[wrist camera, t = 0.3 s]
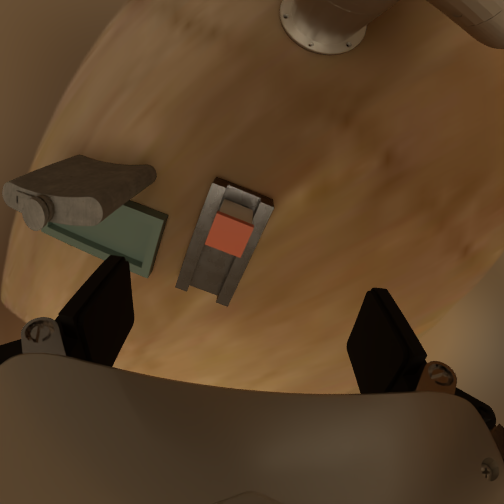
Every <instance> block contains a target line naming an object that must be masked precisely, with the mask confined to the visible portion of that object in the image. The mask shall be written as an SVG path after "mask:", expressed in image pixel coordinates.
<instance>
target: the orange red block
mask: <svg viewBox="0 0 504 504" xmlns="http://www.w3.org/2000/svg"><path fill="white" fill-rule="evenodd" d="M252 218H253V210H251V209H249V208H246V207H244V206H241V205H239V204H236V203H234V202H231V201H229V200H226V199H224V201H223V203H222V206H221V208H220V211H217V214H216V216H215V219H214V221H213V224H212V226H211V229H210V232H209V234H208V237H207V239H206V242H205V245H208V246H210V247H213V248H216V249H218V250H221V251H223V252H226V253H229V254H231V255H234V256H236V257H239V258H241V256H242V253H243V251H244V249H245V247H246V244H247V242H248V240H249V238H250V236H251V233H252V231H253V229H254V225H253V224H252Z"/></svg>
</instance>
